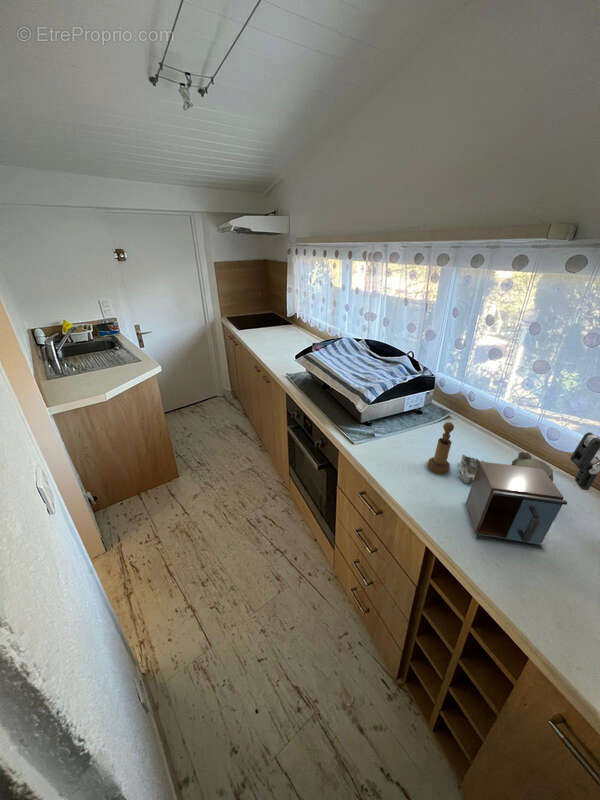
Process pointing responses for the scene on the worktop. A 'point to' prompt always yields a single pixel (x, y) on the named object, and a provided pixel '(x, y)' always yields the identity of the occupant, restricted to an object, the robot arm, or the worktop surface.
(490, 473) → the cupboard
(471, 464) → the grey lumpy piece
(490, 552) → the worktop surface
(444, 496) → the worktop surface
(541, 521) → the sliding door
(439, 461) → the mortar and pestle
